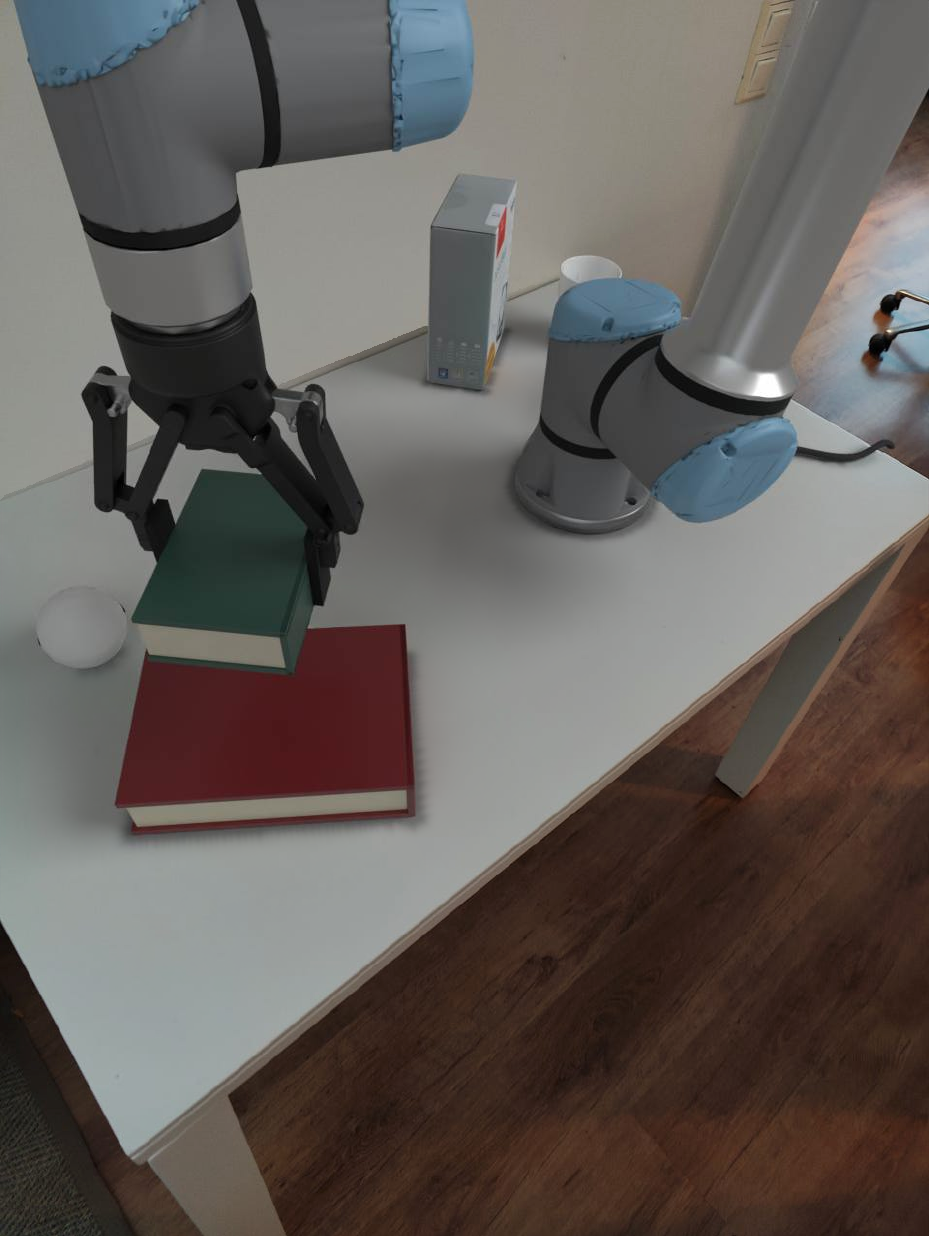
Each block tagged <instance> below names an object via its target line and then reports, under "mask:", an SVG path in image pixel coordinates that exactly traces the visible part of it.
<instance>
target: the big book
mask: <svg viewBox="0 0 929 1236" xmlns="http://www.w3.org/2000/svg"><path fill="white" fill-rule="evenodd" d="M148 654H149V653H148V650H147V648H146V647H145V651H144V658H143V661H142V666H141V671H140V676H139V680H138V681H139V682H138V687H137V692H136V696H135V701H134V706H133V711H132V716H131V717H132V718H131V721H130V726H129V731H128V735H127V741H126V744H125V745H126V746H125V750H124V756H123V761H122V765H121V770H120V775H119V779H118V785H117V790H116V796H115V800H114V803H113V804H114V807H115V808H116V809H126V810H127V812H128V815H129V816H130V817H131V819H132V824H131V829H130V833H131V835H132V836H142V835H157V834H170V833H171V834H172V833H186V832H200V831H215V830H231V829H247V828H260V827H275V826H290V825H305V824H321V823H335V822H350V821H366V820H378V819H379V820H381V819H395V818H412V817H416V816H417V815H416V781H415V780H416V777H415V762H414V746H413V743H414V742H413V729H412V727H413V726H412V712H411V695H410V694H411V693H410V678H409V677H410V675H409V659H408V643H407V627H406V623H399V624H398V623H397V624H377V625H356V626H355V625H354V626H333V627H332V626H331V627H312V628H311V627H308V629H307V632H306V636H305V639H304V643H303V646H302V650H301V653H300V657H299V660H298V664H297V667H296V671H295V674H294V676H291V675H282V674H272V673H262V672H252V671H242V670H232V669H221V668H211V667H201V666H191V665H181V664H171V663H161V662H151V661H148V658H147V656H148Z"/></svg>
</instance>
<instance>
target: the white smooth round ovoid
mask: <svg viewBox="0 0 929 1236" xmlns="http://www.w3.org/2000/svg"><path fill="white" fill-rule="evenodd" d="M25 603H28V601H27V600H25ZM29 603H30V604H34V605H40V606H41V607H40V610H39V611H38V615H37V619H36V625H35V632H36V636H37V643H38V645H39V647H41V649H42V650H43V651H44V652H45V653H46V654H47V656H49V657H50V658H51V659H52V660H53V661H54V662H56V663H58V664H61V665H64V666H66V667H69V668H71V669H78V670H79V669H81V670H84V669H91V668H96V667H98V666H100V665H103V664H106V663H107V662H108V661H110V660H111V659H113V658H114V657H116V655H117V654H118V653H119V652H120V650H121V649H122V648H123V645H124V643H125V640H126V638H127V635H128V621H127V615H126V610H125V607H124V606H123V605H122V604H121V603H120V602H118V600H117V599H116V598H115V597H114V596H113V595H111V593H109V592H106V591H105V590H103V589H100V588H99V587H95V586H90V585H89V586H88V585H77V586H69V587H67V588H64V589H61V590H59V591H57V592H56V593H54V594H53V595H52V596H50V597H49V598H48V599H47V600H46V601H45V602H44V603H43V604H40V603H36V602H32V601H29Z"/></svg>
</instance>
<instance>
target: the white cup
mask: <svg viewBox="0 0 929 1236" xmlns="http://www.w3.org/2000/svg"><path fill="white" fill-rule="evenodd" d="M559 269H560V270H559V281H558V291H557V301H558V300H559V298H560V296H561V295H562V294H563V293H564V292H565V291H567V290H568V289H569V288H571V287H573V286H575V285H577V284H580V283H583V282H586V281H591V280H596V279H603V278H622V275H623V271H622V268H621V267H620V266H619V265H618V264H617V263H616V262H615V261H612V260H610V259H608V258H605V257H602V256H597V255H589V254H588V255H587V254H586V255H585V254H584V255H576V256H571V257H568V258H566V259H565V260H563V261H562V263H561V264H560V267H559Z"/></svg>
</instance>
